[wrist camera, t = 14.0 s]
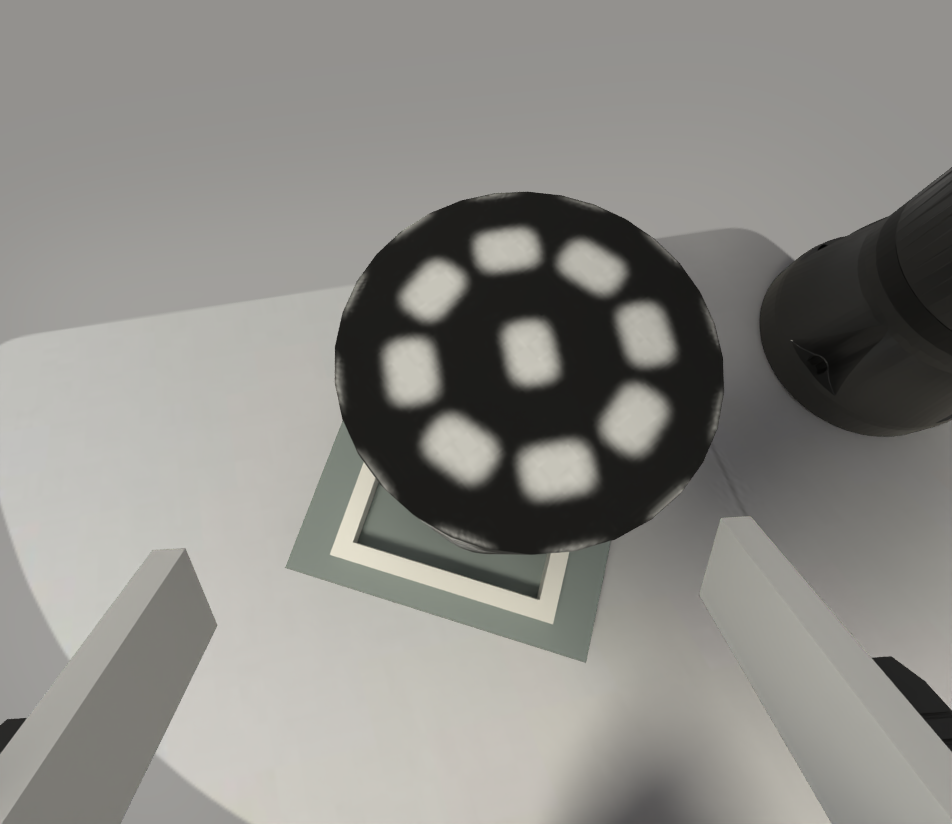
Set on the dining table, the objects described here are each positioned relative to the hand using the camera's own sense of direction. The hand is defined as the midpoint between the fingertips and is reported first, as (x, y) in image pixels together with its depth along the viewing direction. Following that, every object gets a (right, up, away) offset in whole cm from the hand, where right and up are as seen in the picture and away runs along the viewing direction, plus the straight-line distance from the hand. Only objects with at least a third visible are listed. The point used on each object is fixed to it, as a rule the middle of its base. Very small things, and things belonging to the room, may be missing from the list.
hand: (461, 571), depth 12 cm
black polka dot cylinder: (+1, 0, +17) cm, 17 cm away
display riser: (0, -1, +20) cm, 20 cm away
